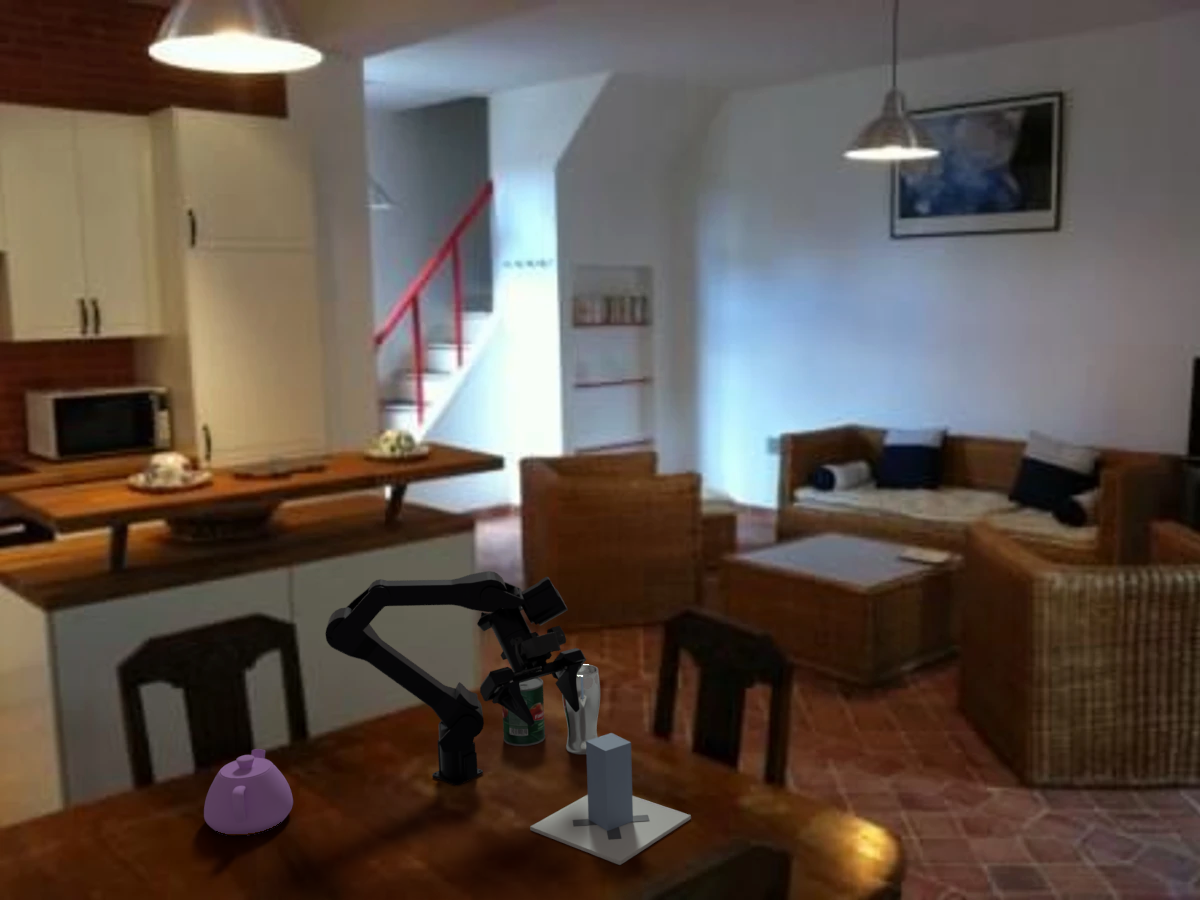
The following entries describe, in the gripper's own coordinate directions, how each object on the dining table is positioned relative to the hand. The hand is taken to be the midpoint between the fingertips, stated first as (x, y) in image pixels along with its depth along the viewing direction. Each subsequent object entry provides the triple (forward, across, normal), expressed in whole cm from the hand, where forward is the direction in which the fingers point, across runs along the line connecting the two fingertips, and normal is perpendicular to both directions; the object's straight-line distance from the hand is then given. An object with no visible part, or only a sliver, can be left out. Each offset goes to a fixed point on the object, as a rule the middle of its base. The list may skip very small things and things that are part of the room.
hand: (555, 717), depth 186 cm
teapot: (-9, -42, +29) cm, 52 cm away
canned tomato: (-7, +10, +27) cm, 29 cm away
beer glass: (+1, +15, +19) cm, 24 cm away
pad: (+19, 0, 0) cm, 19 cm away
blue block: (+19, 0, -1) cm, 19 cm away
